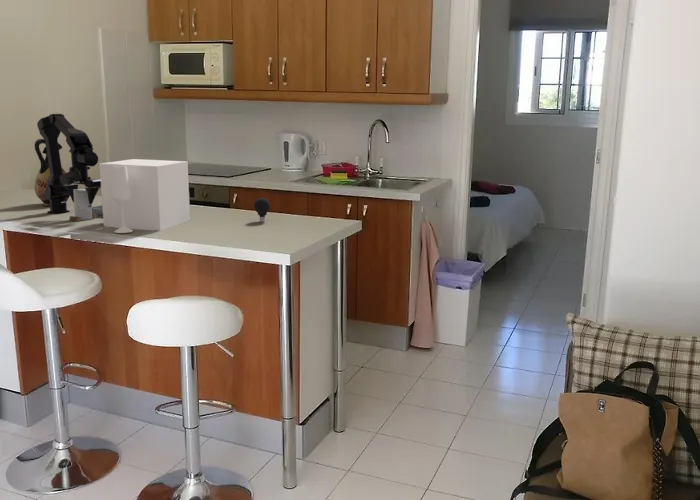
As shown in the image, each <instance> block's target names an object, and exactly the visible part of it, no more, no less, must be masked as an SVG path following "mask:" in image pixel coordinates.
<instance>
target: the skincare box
mask: <svg viewBox="0 0 700 500" xmlns="http://www.w3.org/2000/svg"><path fill="white" fill-rule="evenodd" d="M73 192H74V202H73V203H74V204H73V205H74V206H73V207H74V216H75V217H81V221H84V220H85V221H87V220H93V218H92V207H93V205H92V204H93V203H92V204H89V200H88V193H87V191H86V189H85V188H79V189H74V190H73Z"/></svg>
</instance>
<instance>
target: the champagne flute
mask: <svg viewBox="0 0 700 500" xmlns="http://www.w3.org/2000/svg"><path fill="white" fill-rule="evenodd" d="M112 198H113V200H114V201H115V202H116V203H117V204H119V205H120V206H121V221H122V226H121V227H120V228H117V229H116V230H114V231H113V232H114V233H115V234H125V233H133V231H134V229H129V228H128V227H126V226H125V216H124V205H125V204H126V203H127V202H128V201H129V200H130V198H131V192H130V185H129V179H128V173H127V166H113V178H112Z"/></svg>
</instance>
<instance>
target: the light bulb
mask: <svg viewBox="0 0 700 500" xmlns="http://www.w3.org/2000/svg"><path fill="white" fill-rule="evenodd" d="M253 208H254V211H255V212H256V213H257V216H259V222H261V223H263V222H264V223H265V222H266V216H267V214H268V212H270V209H271V203H270V201H269V200H268V199H267V198H264V197H259V198H258V199H256V200H255V201H254V204H253Z"/></svg>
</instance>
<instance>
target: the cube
mask: <svg viewBox="0 0 700 500" xmlns="http://www.w3.org/2000/svg"><path fill="white" fill-rule="evenodd" d="M113 166H127V173H128V179H129V185H130V192H131V198H130V200H129V201H128V202H127V203H126V204H125V205H124V216H125V226H126V227H128V228H129V229H131V230H142V231H144V230H145V231H154V230H157V231H158V232H162V231H164V230H167V229H170V228H173V227H175V225H176V226H178V225H181V224H184V223H186V222H189V221H191V215H190V214H191V213H190V212H191V210H190V188H189V187H190V185H189V183H190V182H189V169H188V168H189V162H188V160H186V161H183V160H181V161H180V160H163V159H161V160H159V159H141V158H132V159H124V160H117V161H109V162H108V161H107V162H102V163H101V162H100V163H99V173H100V175H99V176H100V177H99V179H101V186H100V187H101V188H100V189H101V191H100V192H101V203H102V204H101V205H102V206H103V217H102V218H103V219H102V221H103V227H110V228H113V229H114V228H117V229H119V228H120V227H121V226H122V221H121V206H120V205H119V204H117V203H116V202H115V201H114V200H113V198H112V178H113ZM161 230H162V231H161ZM157 231H156V232H157Z"/></svg>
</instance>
